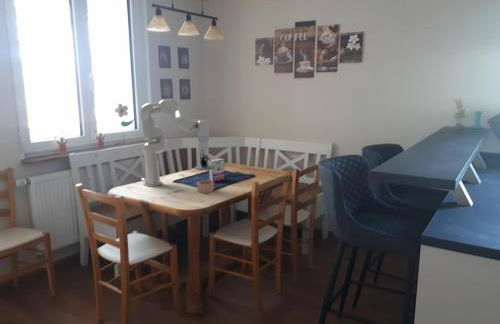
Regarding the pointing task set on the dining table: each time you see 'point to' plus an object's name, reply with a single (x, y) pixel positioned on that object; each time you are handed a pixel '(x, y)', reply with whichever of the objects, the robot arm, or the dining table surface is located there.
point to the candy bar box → (217, 170)
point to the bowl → (205, 186)
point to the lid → (207, 167)
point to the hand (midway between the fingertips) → (204, 164)
